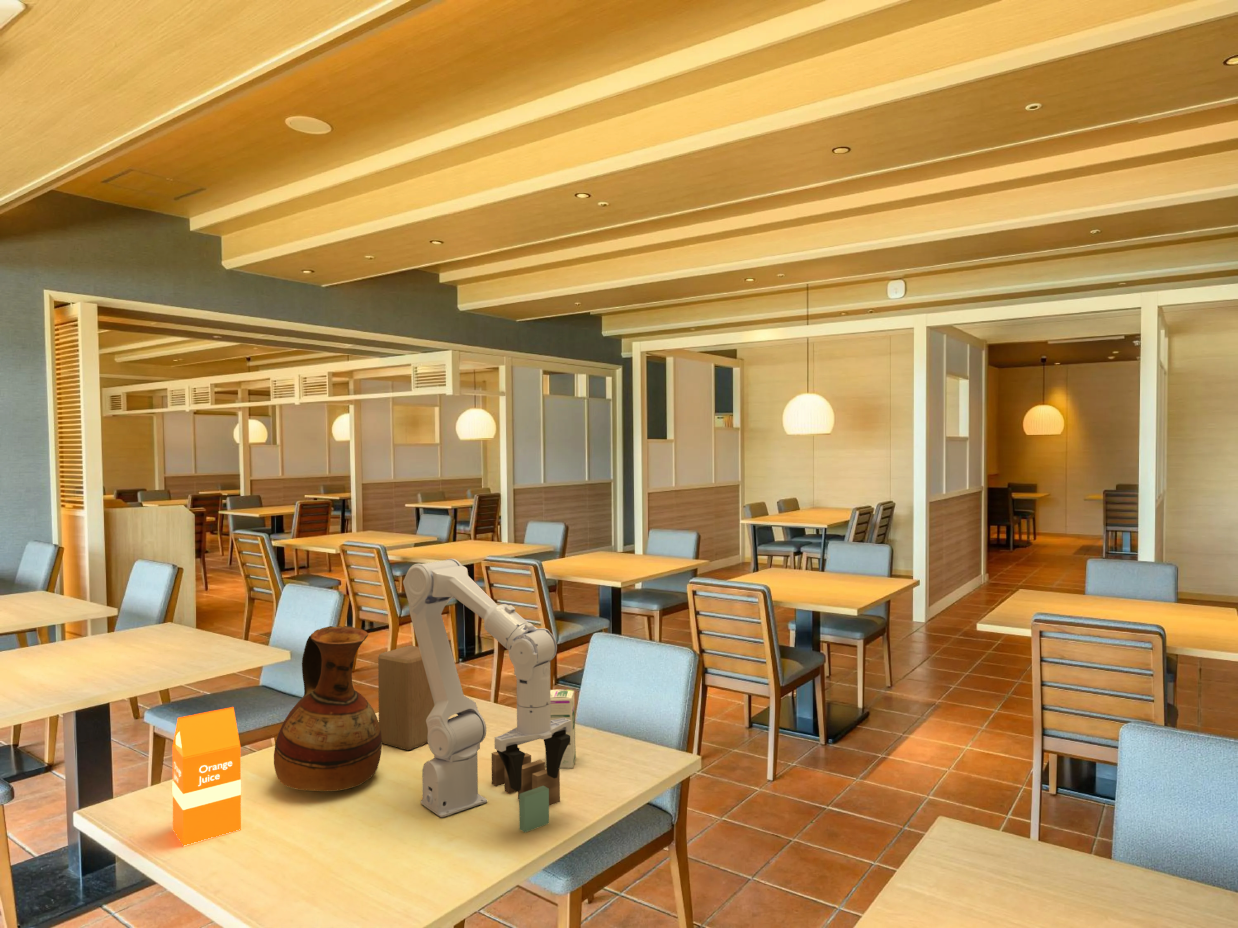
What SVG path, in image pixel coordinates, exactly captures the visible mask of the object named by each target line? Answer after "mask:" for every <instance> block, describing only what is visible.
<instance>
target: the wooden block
mask: <svg viewBox="0 0 1238 928" xmlns="http://www.w3.org/2000/svg"><path fill="white" fill-rule="evenodd" d="M377 659H378V660H377V661H378V664H377V665H378V667H377V670H378V671H377V672H378V675H377V676H378V679H377V680H378V686H377V687H378V688H377V690H378V722H379V726H380V730H381V738H382V744H385V745H388V746H392V747H396V748H399V749H402V750H407V751H411V750H413V749H415V748H418V747H420V746H422V745H425V744H428V739H427V737H428V727H427V723H426V719H427V717H428V715H429V714H430V712H431V711H432V709H433V707H434V701H433V697H432V694H431V690H430V686H429V683H428V679H427V675H426V671H425V668H424V664H423V660H422V657H421V653H420V649H419V646H418V645H417V646H416V645H406V646H404V647H400V648H396V649H392V650H388V651H385V652H381V653H380V654H379V655H378V657H377Z"/></svg>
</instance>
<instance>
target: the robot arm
mask: <svg viewBox="0 0 1238 928" xmlns="http://www.w3.org/2000/svg"><path fill="white" fill-rule="evenodd" d="M468 571H469V570H468V568H467V567H466V566H464V565H463V564H462V563H461V562H460V561H458V560H457V559H455V558H447V559H445V560H439V561H438V560H437V561H433V562H426V563H415V564H413V565H411V566H410V567H409V569H407V572H406V574H405V576H404V579H403V581H402V584H403V587H404V591H405V592H404V593H405V595H406V598H407V602H408V606H409V607H408V608H409V616H410V618H411V619H410V620H411V622H412V627H413V629H414V634H415V639H416V642H417V647H419V649H420V653H421V657H422V660H423V664H424V668H425V671H426V675H427V679H428V683H429V686H430V690H431V694H432V697H433V701H434V707H433V709H432V711H431V712H430V714H429V715H428V717H427V719H426V723H427V727H428V737H427V739H428V742H427V744H428V747H429V750H430V751H431V753H432V754H433V755H434V756H433V758H432V759H430V760H428V761H426V762H424V764H423V767H422V771H421V772H422V778H421V779H422V787H421V788H422V800H420V804H421V805H422V806H423V807H425V808H427V809H428V810H429V811H431V812H433V813H434V814H435V815H437V816H438V817H440V818H445V817H447V816H450V815H453V814H456V813H459V812H462V811H466V810H468V809H471V808H473V807H476V806H479V805H482V804H486V803H487V802H488V799H487V798H486V797H485V796H482V794H479V791H478V790H479V789H478V787H479V786H478V785H479V784H478V783H479V782H478V777H479V776H478V775H479V774H478V773H479V772H478V770H479V769H478V764H479V763H478V752H479V750H481V743H482V742H483V741H484V740H485V738H486V735H487V724H486V721H485V718H484V717H483V715H482V714H481V713H480V711H479V709H478V706H477V703H476V702H475V701H474V700H472V698H469V697H467V696H466V695H465V694H464V692H463V688H462V683H461V680H460V676H459V673H458V669H457V666H456V663H455V660H454V655H453V652H452V649H451V645H450V642H449V641H450V640H449V637H448V634H447V629H446V627H445V626H446V625H445V624H444V623H445V622H444V619H443V615H442V613H443V611H444V609H445V607H446V605H447V604H448V603H449V602H450V601H451V600H452V598H454V599H455V600H457V601H459V602H460V603H461V604H462V605H464V606H465V607H466V608H468V609H469V610H471V611H472V612H473V614H476V615H477V616H478V617H479V618H481V619H483V625H484V626H483V627H484V630H485V631H486V632H487V633H488V634H489V635H490V636H491V637H493V638H494V639H495V640H496V641H497V642H498V643H499V644H501V645H502V646H503V647H504V648H505V649H506V650H507V651H508V657H509V660H510V662H511V664H512V665H513V668H514V676H515V678H516V727H514V728H512V729H511V730H508V731H507V732H505V733H502V734H500V735H498V736H494V750H496V752H498V754H499V756H500V757H501V759H502V761H503V764H504V766H505V768H506V771H507V774H508V778H509V782H510V787H511V788H512V789H514V790H515V791H517V792H518V791H520V790H521V782H522V764H523V759H524V756H525V753H526V752H525V751H522V750H520V747H519V746H520V745H523V744H526V743H530V742H534V741H537V740H543V743H544V748H545V749H546V754H545V769H547V775H548V776H550V777H552V778H554V779H555V778H557V776H558V772H559V768H560V764H561V760H562V757H563V755H564V752H565V750H566V748H567V746H568V744H569V743H570V735H568V734H566V732H570V731H571V720H568V719H566V718H561V719H556V720H551V706H550V702H551V699H550V690H551V661H552V660H553V659H554V658H555V656H556V655H557V650H558V645H557V640H556V638H555V636H554V634H553V633H551V632H550V630H549V629H548V628H545V627H540V628H538V627H536V626H534V624H533V623H531V622H528V621H527V620H526V619H525V618H524V617H522V615H520V614H519V613H518V612H517V611H516V607H514V606H513V605H508V604H506V603H504V604H503V603H500V604H498V603H496V602H495V600H493V599H492V598H491V597H490V596H489V595H488V594H487V593H486V592H485V591H484V590H483V589H482V588H481V587H480V586H479V585H478V584H477V583H476V582H475V581H474V580H473V579H472V578H471V577H470V576H469V572H468ZM454 715H456V716H454ZM452 716H453V717H452Z"/></svg>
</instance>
